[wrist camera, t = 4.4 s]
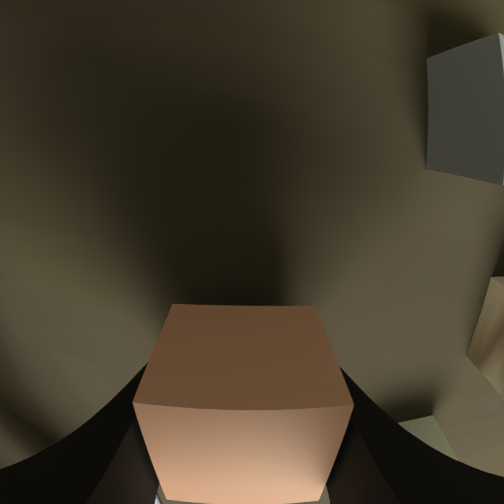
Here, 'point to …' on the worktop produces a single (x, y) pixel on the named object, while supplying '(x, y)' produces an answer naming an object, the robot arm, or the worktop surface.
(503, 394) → the maple block
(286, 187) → the worktop surface
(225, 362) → the terracotta block
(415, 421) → the sage block
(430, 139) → the slate block
